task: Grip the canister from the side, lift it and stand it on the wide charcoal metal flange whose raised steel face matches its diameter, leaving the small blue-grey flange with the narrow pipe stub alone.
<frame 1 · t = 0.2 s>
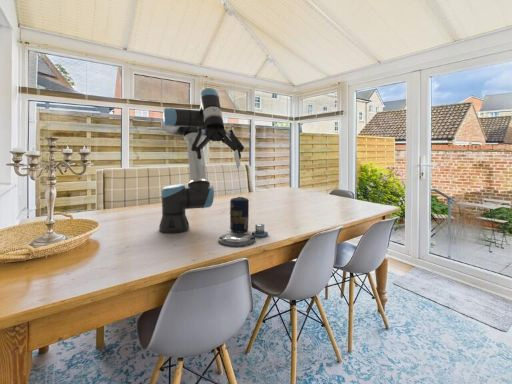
hand: (221, 166, 108), 35 cm above the table, tool tilted 35°, fingers open, 13 cm apart
flange small: (259, 235, 143), on the table
flange wide: (237, 240, 134), on the table
canister: (239, 231, 151), on the table
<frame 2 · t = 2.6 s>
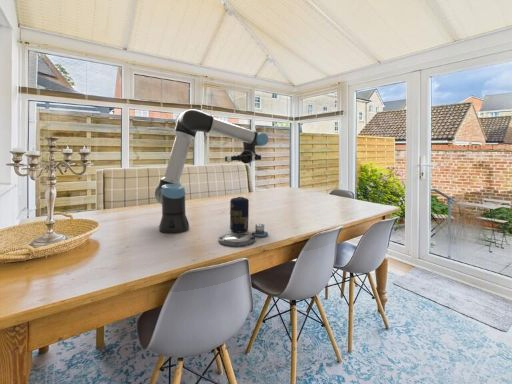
hand: (240, 159, 153), 37 cm above the table, tool horizontal, fingers open, 13 cm apart
nothing on the table moved.
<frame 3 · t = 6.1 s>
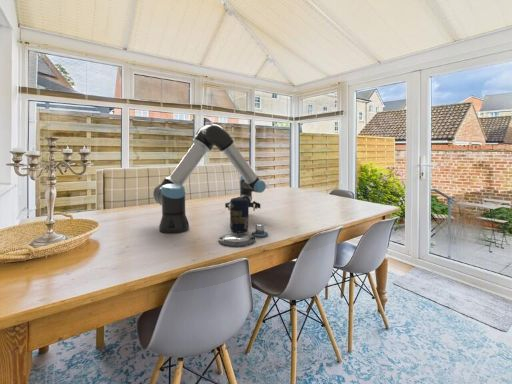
hand: (241, 208, 159), 10 cm above the table, tool horizontal, fingers open, 13 cm apart
nothing on the table moved.
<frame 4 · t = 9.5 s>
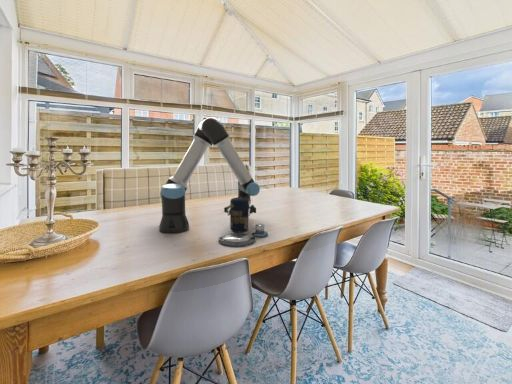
hand: (238, 213, 146), 10 cm above the table, tool horizontal, fingers closed on canister, 10 cm apart
canister: (239, 231, 151), on the table, touching gripper
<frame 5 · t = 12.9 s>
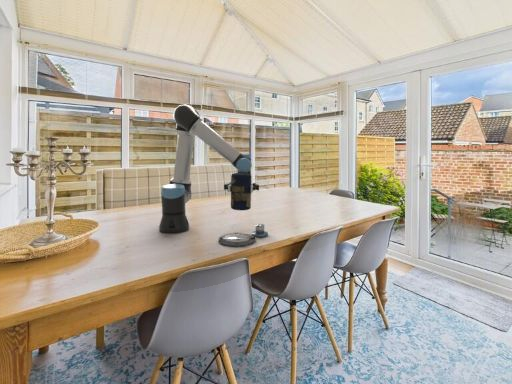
hand: (240, 189, 132), 24 cm above the table, tool horizontal, fingers closed on canister, 10 cm apart
canister: (240, 209, 137), point 14 cm above the table, touching gripper
when the fingers open (13 cm above the table, at t = 16.4 s): canister drops 1 cm, resting on flange wide.
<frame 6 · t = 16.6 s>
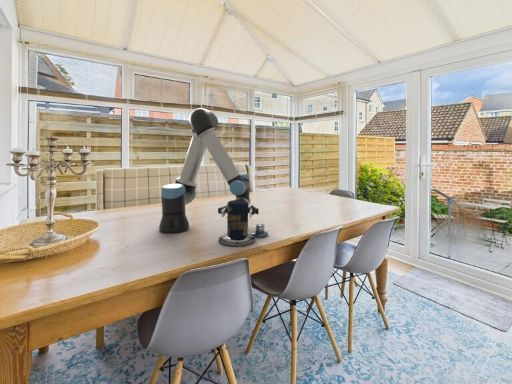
hand: (236, 214, 129), 13 cm above the table, tool horizontal, fingers open, 12 cm apart
canister: (237, 237, 134), point 1 cm above the table, touching flange wide
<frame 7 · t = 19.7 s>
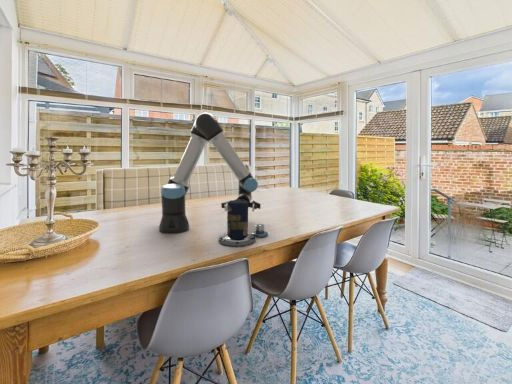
hand: (239, 208, 142), 13 cm above the table, tool horizontal, fingers open, 13 cm apart
nothing on the table moved.
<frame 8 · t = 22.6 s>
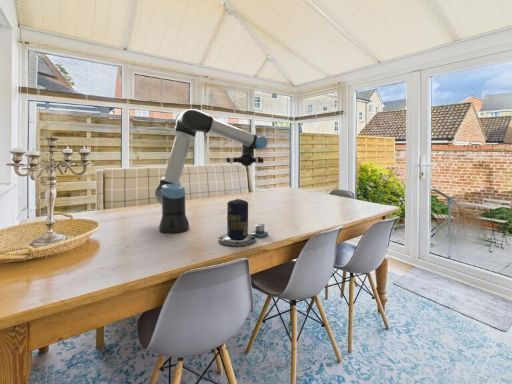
hand: (243, 160, 152), 36 cm above the table, tool horizontal, fingers open, 13 cm apart
nothing on the table moved.
at the end: canister 0.3 cm off-centre on the flange wide, point 1.4 cm above the flange wide's base; canister tilted 0°; the gripper is holding nothing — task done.
